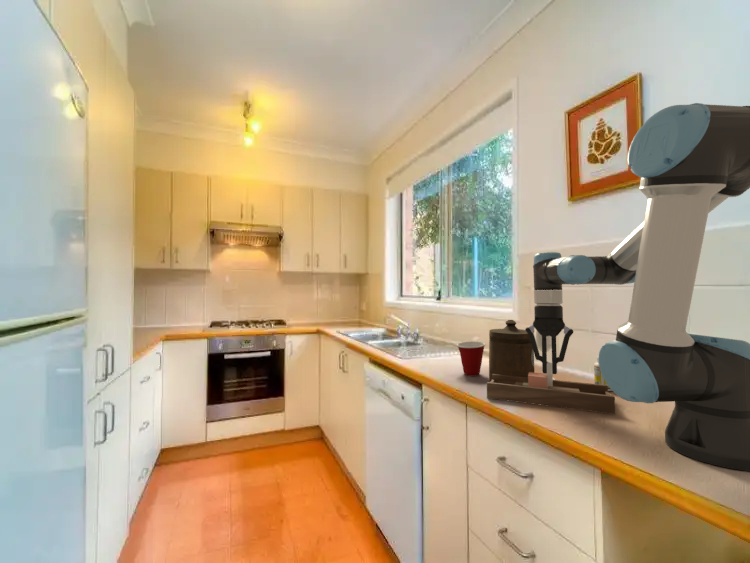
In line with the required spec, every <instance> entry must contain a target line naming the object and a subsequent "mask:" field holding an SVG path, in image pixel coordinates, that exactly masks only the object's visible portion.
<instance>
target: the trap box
mask: <svg viewBox="0 0 750 563" xmlns="http://www.w3.org/2000/svg"><path fill="white" fill-rule="evenodd" d="M491 398H494V399H493V400H499V399H501V400H500V401H507V400H509V402H515V401H518V402H517V403H522V402H526V403H525V404H530V403H534V404H533V405H538V404H541V405H540V406H546V405H548V406H547V407H553V406H554V408H555V407H556V408H561V407H562V408H564V409H569V410H570V409H571V410H577V411H585V412H586V411H587V412H593V413H601V414H608V415H616V401H615V400H616V397H615V395H611V393H610V391H608V386H607V385H601V384H595V383H589V382H580V381H579V382H577V381H570V380H561V379H560V380H559V379H555V380H553V386H547V388H539V387H529V386H528V377H520V376H509V375H499V374H492V380H491V382H490V381H487V382H486V399H491Z"/></svg>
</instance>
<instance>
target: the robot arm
mask: <svg viewBox="0 0 750 563" xmlns="http://www.w3.org/2000/svg"><path fill="white" fill-rule="evenodd" d="M627 165H628V167H629V168H630V171H631V173H632V174H634V175H635V176H637V177H639V178H640V181H639V187H638V189H639V191H640V192H641V193H642V194H643V195H644V196H645V197H646V199H647V200H646V202H647V203H646V209H645V214H644V220H643V221H642V222H641V223H640V224H639V225H638V226H637V227H635V229H634V230H632V231H631V232H629V234H628V235H627V236H626V237H625V238H624V239H623V240H622V241H621V242H620V243H619V244H617V245H616V246H615V247H614V248H613V249H612V251H610V253H608V254H607V255H605V256H598V255H597V256H588V255H585V254H584V255H583V254H577V255H576V254H575V255H574V254H572V255H571V254H570V255H568V256H564V257H562V254H561V253H560V252H555V251H554V252H553V251H550V252H549V251H548V252H539V253H536V254H535V255H534V256H533V265H532V268H533V288H534V290H533V297H534V298H533V299H534V300H533V302H534V304H536V305H534V307H533V308H534V311H533V312H534V320H533V322H532V325H530V326H526V327H525V329H524V330H526V332H527V333H528V335H529V337H530V340H531V344H532V347H533V351H534V359H535V360H536V361H540V363H541V366H542V367H541V368H542V373H547V386H553V378H554V377H553V375H557V374H558V364H559V363H561V362H562V363H563V362H564V360H565V356H566V353H567V349H568V345H569V341H570V338H571V337H572V335H573V334H574V330H573V328H570V327H568V326H566V324H565V323H566V322H564V318H563V317H564V311H563V310H564V309H563V306H562V305H561V304H563V303H564V302H563V285H571V286H573V285H617V286H618V285H621V286H622V285H625V284H626V285H627V284H629V285H630V284H633V287H632V295H631V301H630V308H629V314H628V318H627V321H625V322H624V323H622V324H620V325H618V327H617V328H616V335H615V336H616V337H615V340H610V341H608V342H605V344H604V345H602V346H601V348H600V350H599V352H598V357H599V367H600V371H601V374H602V376H603V378H604V379H605V381H606V383H607V385H608V386H609V387H610V389H611V390H612V391H611V392H613V393H614V394H615V395H617V396H618V397H619V398H621V399H623V400H625V401H627V402H631V403H644V404H654V403H665V402H666V403H667V402H670V403H671V402H674V406H673V410H672V413H671V415H670V417H669V420H668V422H667V425H666V427H665V430H664V441H665V444H666V445H667V446H669V448H671V449H672V450H673V451H675V452H677V453H679V454H681V455H684V456H686V457H688V458H691V459H694V460H697V461H700V462H703V463H707V464H710V465H713V466H718V467H722V468H727V469H731V470H732V469H733V470H739V471H747V472H750V342H748V341H746V340H741V339H733V338H728V337H727V338H726V337H717V336H709V335H701V334H693V333H688V332H687V330H686V329H687V324H688V318H689V312H690V308H691V303H692V300H693V299H692V298H693V294H694V289H695V288H694V287H695V282H696V279H697V278H696V277H697V272H698V267H699V262H700V257H701V252H702V247H703V242H704V236H705V232H706V226H707V220H708V216H709V214H710V213H712V211H713V210H715V209H716V208H717V207H719V206H720V205H721V204H722V203H723V202H725V201H726V200H727V199H728V198H736V197H739V196H742V195H743V194H744V193H745V192H747V191H748V190H749V189H750V105H743V106H742V105H726V104H725V105H723V104H708V103H707V104H705V103H699V102H695V103H690V104H674V105H671V106H668V107H665V108H663V109H661V110H659V111H657V112H655V113H654V114H653V115H651V116H650V117H649V118H648V119H646V121H645V122H644V124H643V125H642V126H640V128H639V129H638V130H637V132H636V133H635V135H634V136H633V139H632V140H631V142H630V145H629V149H628V152H627ZM535 329H536V330H537V331H538V332H539V334H540V335H542V351H541V355H540V351H539V349H538V347H537V344H536V340H535ZM562 331H563V334H564V336H563V340H562V344H561V348H560V351H559V354H558V356H557V336H559V335H560V333H561V332H562ZM533 333H534V334H533ZM546 336H551V340H552V348H551V361H548V358H547V356H548V355H547V352H548V351H547V344H546Z"/></svg>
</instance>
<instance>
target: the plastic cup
mask: <svg viewBox="0 0 750 563" xmlns="http://www.w3.org/2000/svg"><path fill="white" fill-rule="evenodd" d="M456 346H457V348H458V351H459V356H460V361H461V365H462V370H463V374H464V375H465V376H471V377H476V376H479V375H480V374H481V369H482V368H481V367H482V363H483V355H484V349H485V347H486V343H485V342H482V341H471V340H470V341H461V342H458V343H456Z"/></svg>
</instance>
